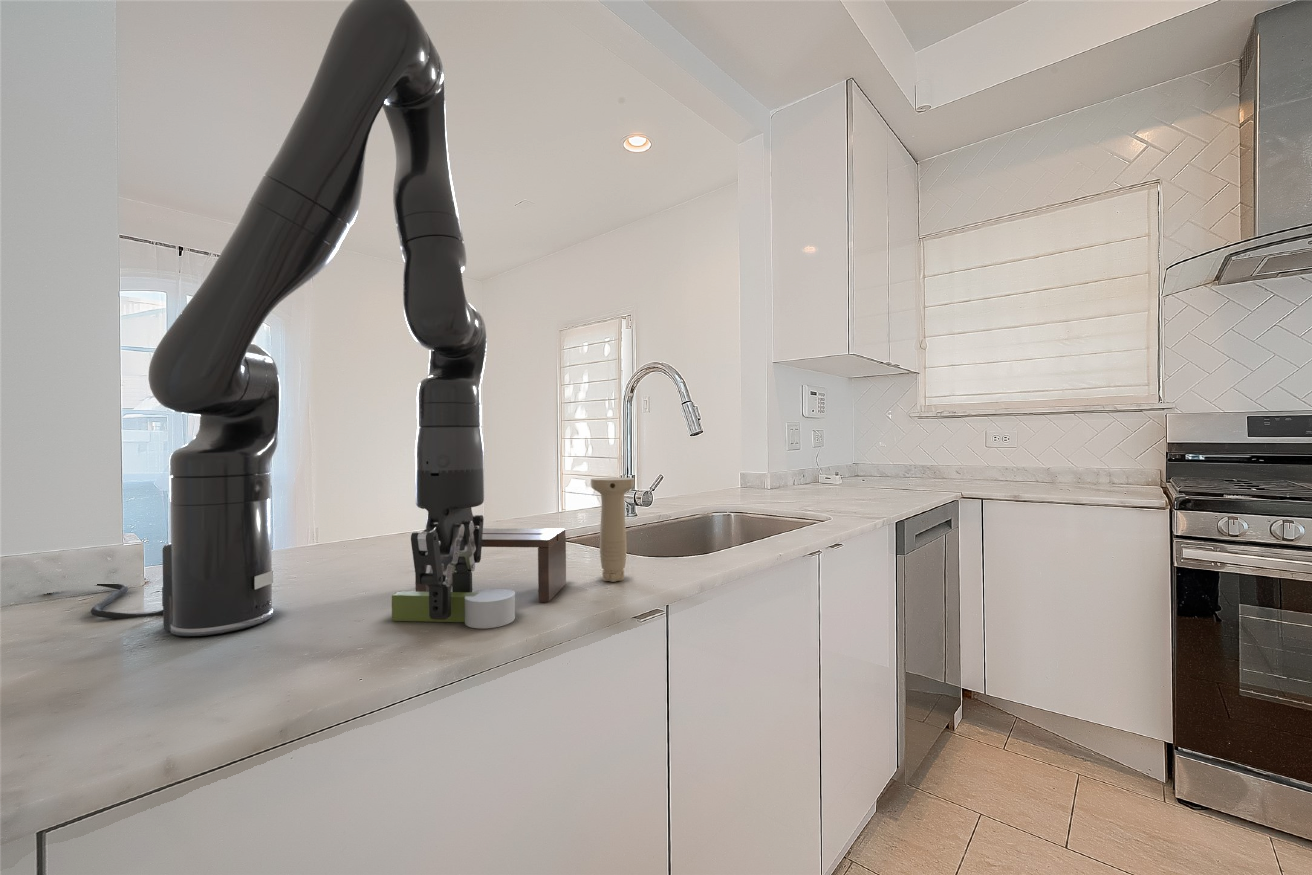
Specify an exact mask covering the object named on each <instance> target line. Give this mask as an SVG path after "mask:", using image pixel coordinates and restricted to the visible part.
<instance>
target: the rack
mask: <svg viewBox="0 0 1312 875" xmlns="http://www.w3.org/2000/svg"><path fill="white" fill-rule="evenodd" d="M482 548H537V582H538V583H537V585H538V586H537V588H538V590H537V592H538V603H549V602H550V601H551V600H552V599H553V598H554V597H555V596H556V595H558V593H559V592H560V591H561V590H562V589H563V588H564V587H565V585H567V536H566V528H496V527H495V528H493V527H491V528H484V527H483V535H482ZM440 556H441V557H447V556H446V555H440ZM424 566H425V573H426V569H427V565H424ZM443 569H444V565H442V573H443ZM454 572H456V571H453V570H452V573H454ZM414 576H415V578H414V580H415V584H414V585H415V591H416V592H429V587H428V586H426V585H424V584H423V585H418V584H417V582H416V575H415V574H414ZM449 585H451V586H452V574H451V580H450V584H449Z"/></svg>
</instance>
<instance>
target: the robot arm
mask: <svg viewBox="0 0 1312 875" xmlns="http://www.w3.org/2000/svg"><path fill="white" fill-rule="evenodd" d="M445 84H446V83H445V72H444V66H443V62H442V59H441V57H440V55H439V52H438V50H437V49H436V47H435V45H434V43H433V42H432V39H431V37H430V36H429V34H428V32H427V30H426V28H425V26H424V25H423V23H422V21H421V20H420V18H419V16H418V14H417V13H416V12H415V10H414V8H413V7H412V6H411V5H410V3H409V2H408V1H407V0H351V1H350V3H349V4H348V5H347V6H346V7H345V9H344V10H343V12H342V13H341V15H340V16H339V17H338V20H337V23H336V25H335V27H334V29H333V31H332V34H331V36H330V39H329V42H328V44H327V46H326V48H325V52H324V54H323V57H322V59H321V62H320V64H319V67H318V69H317V71H316V74H315V76H314V79H313V81H312V84H311V87H310V88H309V91H308V94H306V98H305V100H304V102H303V103H302V106H301V108H300V109H299V111H298V113H297V114H296V117H295V118H294V121H293V123H292V125H291V127H290V129H289V130H288V133H287V135H286V137H285V138H284V140H283V142H282V144H281V146H280V148H279V150H278V152H277V154H276V155H275V157H274V159H273V160H272V162H271V163H270V164H269V166H268V168H267V170H266V171H265V173H264V175H263V176H262V178H261V180H260V182H259V183H258V185H257V187H256V189H255V191H254V192H253V194H252V196H251V197H250V200H249V202H248V204H247V206H246V208H245V210H244V211H243V212H244V213H243V215H242V216H241V218H240V220H239V222H238V224H237V226H236V227H235V229H234V230H233V232H232V234H231V236H230V237H229V239H228V241H227V242H226V244H225V245H224V247H223V249H222V251H221V252H220V254H219V255H218V257H217V259H216V261H215V262H214V264H213V266H212V267H211V269H210V271H209V272H208V274H207V276H206V277H205V279H204V280H203V282H202V283H201V285H200V286H199V287H198V289H197V290H196V292H195V293H194V295H193V296H192V298H191V299H190V300H189V302H187V304H186V305H185V307H184V308H183V310H182V311H181V312H180V314H179V315H177V316H178V317H177V318H176V319H175V320H174V321H173V323H172V324H171V326H170V327H169V328H168V330H167V331H166V333H165V334H164V335H163V337H162V338H161V340H160V342H159V343H158V344H157V346H156V348H155V350H154V352H153V354H152V357H151V360H150V361H149V362H150V363H149V366H148V378H147V379H148V384H149V389H150V391H151V393H152V395H153V397H154V399H155V400H157V402H158V403H159V404H160V405H161V406H163V407H164V408H166V409H168V410H170V411H172V412H174V413H175V412H176V413H181V414H185V415H191V416H192V415H193V416H199V424H198V432H197V433H196V434H195V436H194V437H193V439H191V440H190V442H188V443H187V444H185V445H183V446H181V447H180V448H177V449H176V450H174V451H173V452H172V453H171V455H170V457H169V499H170V500H169V501H170V502H169V503H170V504H169V505H170V506H169V508H170V543H166V544H164V545H163V547H162V554H161V555H162V587H161V593H162V594H161V603H162V604H161V605H162V606H161V607H162V610H158V611H154V612H147V613H146V612H145V613H129V612H118V611H110V610H103V609H104V608H106V607H107V606H109V605H110V604H112V603H113V602H114V601H115V600H116V599H118V598H119V597H121V596H123V595H125V594H126V593H127V592H128V591H129V586H127V584H126V585H125V584H122V583H118V584H97V585H95V586H96V587H102V588H103V587H104V588H109V589H113V590H117V591H115V592H113V593H111V594H110V595H108V596H107V597H106V598H105V599H103V600H102V601H100V602H99V603H97V604H95V605H94V606H92V608H91V609H90V614H91V615H92V616H94V617H98V618H103V619H110V620H126V619H137V618H145V617H157V616H162V625H163V626H162V630H163V631H168V632H170V633H171V634H172V635H176V636H178V637H179V636H181V637H202V636H203V637H204V636H212V635H220V634H225V633H230V632H235V631H240V630H243V629H247V628H250V627H254V626H256V625H259V624H262V623H263V622H266V621H268V620H269V619H271V618H272V617H273V615H274V606H273V586H272V585H273V584H274V570H273V565H272V564H273V561H272V560H273V559H272V558H273V556H272V551H273V550H272V548H273V547H272V490H271V489H272V486H271V485H272V482H271V481H272V480H271V479H272V478H271V477H272V476H271V474H272V473H271V470H272V469H271V465H272V459H273V457H274V455H275V452H276V450H277V447H278V444H279V434H280V413H281V380H280V379H281V378H280V374H279V370H278V367H277V363H276V362H275V360H274V358H273V357H272V355H271V354H270V353H269V352H268V351H267V350H266V349H265V348H263V347H262V346H259V345H257V344H255V343H253V340H254V339H255V337H256V335H257V334H258V331H259V330H260V329H261V326H262V325H263V323H264V322H265V320H266V319H267V318H268V316H269V315H270V314H271V312H273V310H274V309H275V308H276V307H277V306H278V305H279V304H280V303H281V302H282V301H284V300H285V299H286V298H288V297H289V296H290V295H292V294H293V293H295V292H296V291H297V290H299V289H300V288H301V287H303V286H304V285H305V284H307V283H308V282H310V281H311V280H312V279H313V278H315V277H316V276H317V275H319V274H320V273H321V272H322V271H323V270H324V269H325V268H326V267H327V266H328V265H329V264H330V263H331V262H332V260H333V259H334V257H336V255H337V253H338V252H339V249H340V247H341V245H342V243H343V242H344V240H345V238H346V237H347V234H348V233H349V231H350V229H351V227H352V225H353V224H354V222H355V220H356V217H357V215H358V212H359V209H360V205H361V204H360V203H361V199H362V193H363V186H364V185H363V184H364V174H365V165H366V164H365V162H366V154H367V148H368V147H367V145H368V142H369V138H370V134H371V131H372V128H373V126H374V123H375V121H376V120H377V117H378V115H379V113H380V111H381V110H382V109H383V113H384V114H385V118H386V120H387V123H388V126H389V129H390V131H391V135H392V139H393V142H394V143H393V144H394V149H395V150H394V151H395V173H394V179H393V189H392V202H393V203H392V204H393V205H392V206H393V213H394V219H395V225H396V230H397V235H398V240H399V245H400V250H401V256H402V259H403V262H404V263H403V266H404V267H403V273H402V274H403V275H402V276H403V277H402V286H403V287H402V302H403V305H402V306H403V313H404V317H405V321H406V324H407V327H408V330H409V332H410V334H411V336H412V338H413V339H414V340H415V341H416V342H417V343H418V345H420V346H421V347H423V348H425V349H426V350H428V351H429V362H428V370H427V371H428V372H427V376H426V377H424V378H423V379H422V380H421V381H420V382H419V384H418V387H417V393H416V419H417V422H416V424H417V425H416V426H417V429H416V439H415V446H414V457H415V458H414V463H415V464H414V466H415V468H414V469H415V473H414V474H415V478H414V479H415V505H416V507H418V509H422V510H426V511H427V518H426V523H425V529H424V530H422V531H413V532H412V533H411V534H410V544H411V553H412V560H413V567H414V576H415V575H416V582H417V584H418V585H423V584H424V585H426V586H428V587H429V616H430V618H431V619H433V620H445V619H447V618H448V617H450V615H451V592H473V572H474V571H475V568H476V564H479V563H480V562H481V561H482V560H481V559H482V548H483V547H482V535H483V528H484V521H485V520H484V515H482V514H473V510H472V508H476V507H479V506H481V505H483V503H484V502H485V474H484V473H485V468H484V466H485V465H484V464H485V462H484V461H485V459H484V458H485V457H484V456H485V455H484V453H485V452H484V440H483V434H482V427H481V426H482V400H481V384H482V381H483V376H484V370H485V362H486V357H487V356H486V355H487V343H488V340H487V339H488V338H487V328H486V327H487V326H486V323H485V320H484V318H483V316H482V314H481V312H480V311H479V310H478V309H477V308H476V307H475V306H473V305H472V304H471V303H470V302H468V300H467V296H466V293H465V287H464V280H463V272H464V271H465V269H466V267H467V252H466V246H465V241H464V235H463V231H462V226H461V219H460V215H459V209H458V205H457V200H456V196H455V190H454V185H453V180H452V174H451V166H450V160H449V159H450V158H449V152H448V150H449V149H448V141H447V140H448V139H447V127H446V126H447V125H446V87H445V86H446V85H445ZM440 555H446V556H447V557H441V556H440ZM424 565H427V569H426V573H425V566H424ZM442 565H444V569H443V573H442ZM452 570H453V571H456V572H454V573H452ZM451 574H452V584H451V585H449V584H450V580H451ZM451 590H452V591H451Z"/></svg>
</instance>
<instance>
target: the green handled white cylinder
mask: <svg viewBox="0 0 1312 875" xmlns="http://www.w3.org/2000/svg"><path fill="white" fill-rule="evenodd" d="M515 619H516V592H515V591H514V590H512V589H509V588H503V587H501V588H500V587H499V588H498V587H497V588H496V587H495V588H494V587H493V588H483V589H478V590H474V591H472V592H452V591H451V615H450V617H448V618H447V619H445V620H433V619H431V618H430V616H429V592H416V590H414V591H413V590H412V591H411V590H408V591H406V590H404V591H403V590H400V591H398V592H396V593H393V594H392V595H391V621H392V622H426V623H427V622H428V623H429V622H431V623H464V625H465V626H467V627H469V628H473V629H485V630H486V629H495V628H501V627H502V626H503V627H504V626H507V625H509V624H511V623H512V622H514V621H515Z"/></svg>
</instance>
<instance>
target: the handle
mask: <svg viewBox="0 0 1312 875" xmlns="http://www.w3.org/2000/svg"><path fill="white" fill-rule="evenodd" d="M634 487H635V478H634V477H594V478H590V488H592V489H593V490H594V491H596V492H598V493H599V494H600V499H601V500H600V501H601V505H600V506H601V507H600V527H599V558H600V559H599V560H600V565H601V566H600V567H601V569H602V571H601V572H602V573H601V575H602V579H603V581H604V582H612V583H616V582H622V581H623V580H624V579H625V568H626V564H627V563H626V562H627V552H628V551H627V550H628V548H627V544H628V543H627V528H626V513H625V511H626V510H625V494H626V493H628V492H629V491H630V490H632V489H633V488H634Z"/></svg>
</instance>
